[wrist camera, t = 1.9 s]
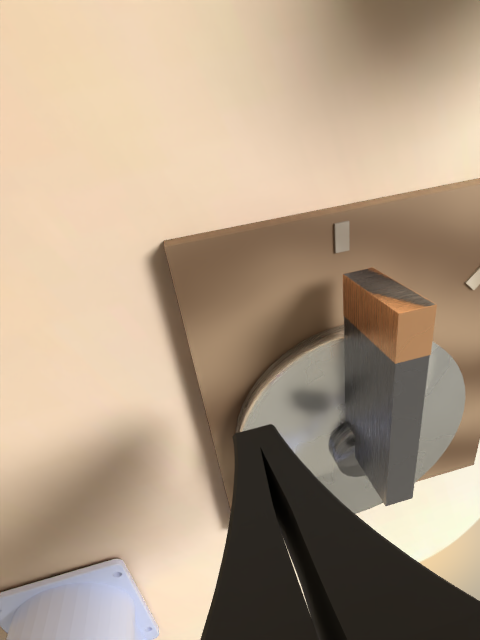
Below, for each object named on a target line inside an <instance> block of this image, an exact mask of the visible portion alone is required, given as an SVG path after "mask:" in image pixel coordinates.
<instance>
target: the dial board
mask: <svg viewBox="0 0 480 640" xmlns="http://www.w3.org/2000/svg"><path fill="white" fill-rule="evenodd" d="M164 249H165V253H166V257H167V261H168V264H169V268H170V272H171V276H172V280H173V284H174V288H175V292H176V296H177V300H178V304H179V308H180V312H181V316H182V320H183V324H184V328H185V332H186V336H187V340H188V344H189V348H190V352H191V356H192V360H193V364H194V368H195V372H196V376H197V380H198V384H199V387H200V391H201V395H202V399H203V403H204V407H205V411H206V415H207V419H208V423H209V427H210V431H211V435H212V439H213V443H214V447H215V451H216V455H217V459H218V463H219V467H220V471H221V475H222V479H223V483H224V487H225V491H226V495H227V499H228V503H229V507H230V511H231V506H232V498H233V486H234V471H235V455H234V443H233V438H232V437H233V435H234V434H235V428H236V424H237V419H238V415H239V413H240V410H241V407H242V405H243V403H244V401H245V399H246V397H247V395H248V393H249V391H250V390H251V388H252V387H253V386H254V384H255V383H256V382H257V380H258V379H259V377H260V376H261V375H262V374H263V373H264V372H265V371H266V370H267V369H268V368H269V367H270V365H272V364H273V363H274V362H275V361H276V360H277V359H278V358H280V357H281V356H282V355H283V354H284V353H286V352H287V351H289V350H290V349H292V348H293V347H294V346H296V345H297V344H299V343H301V342H303V341H305V340H306V339H308V338H310V337H312V336H314V335H316V334H319V333H321V332H323V331H326V330H328V329H331V328H335V327H338V326H341V325H344V315H343V274H345V273H349V272H354V271H358V270H363V269H368V268H372V267H373V268H375V269H376V270H378V271H380V272H382V273H383V274H385V275H387V276H388V277H390V278H392V279H394V280H395V281H397V282H399V283H401V284H402V285H404V286H406V287H407V288H409V289H411V290H413V291H414V292H416V293H418V294H419V295H421V296H423V297H425V298H426V299H428V300H430V301H431V302H433V303H435V304H437V309H436V317H435V325H434V333H433V342H435V343H436V344H437V345H439V346H440V347H442V348H443V349H444V350H445V351H446V352H447V353H448V354H449V355H450V356H452V358H453V359H454V361H455V362H456V363H457V365H458V367H459V369H460V371H461V373H462V376H463V380H464V384H465V406H464V411H463V415H462V419H461V422H460V425H459V427H458V429H457V432H456V434H455V436H454V437H453V439H452V441H451V443H450V444H449V446H448V447H447V449H446V450H445V452H444V453H443V454H442V456H441V457H440V458H439V459H438V461H437V462H436V463H435V464H434V465H433V466H432V467H431V468H430V469H429V470H428V471H427V472H426V473H425V474H424V475H423V476H422V477H421V478H419V479H418V480H417V481H421V480H424V479H427V478H431V477H434V476H437V475H441V474H444V473H447V472H451V471H454V470H457V469H461V468H464V467H467V466H471V465H474V461H475V457H476V453H477V448H478V444H479V440H480V178H478V179H473V180H468V181H463V182H458V183H453V184H448V185H443V186H438V187H433V188H428V189H423V190H418V191H413V192H408V193H402V194H397V195H392V196H387V197H382V198H377V199H372V200H367V201H362V202H357V203H352V204H347V205H342V206H337V207H332V208H327V209H322V210H317V211H312V212H307V213H302V214H297V215H291V216H286V217H281V218H276V219H271V220H266V221H261V222H256V223H251V224H246V225H241V226H236V227H231V228H226V229H221V230H216V231H211V232H206V233H201V234H196V235H191V236H186V237H180V238H175V239H170V240H165V241H164ZM417 481H416V482H417Z"/></svg>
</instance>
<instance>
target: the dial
mask: <svg viewBox="0 0 480 640" xmlns="http://www.w3.org/2000/svg"><path fill="white" fill-rule="evenodd" d="M436 309H437V304H435V303H433V302H431V301H430V300H428V299H426V298H425V297H423V296H421V295H419V294H418V293H416V292H414V291H413V290H411V289H409V288H407V287H406V286H404V285H402V284H401V283H399V282H397V281H395V280H394V279H392V278H390V277H388V276H387V275H385V274H383V273H382V272H380V271H378V270H376V269H375V268H373V267H372V268H368V269H363V270H358V271H354V272H349V273H345V274H343V315H344V325H341V326H338V327H335V328H331V329H328V330H326V331H323V332H321V333H319V334H316V335H314V336H312V337H310V338H308V339H306V340H305V341H303V342H301V343H299V344H297V345H296V346H294V347H293V348H292V349H290V350H289V351H287V352H286V353H284V354H283V355H282V356H281V357H280V358H278V359H277V360H276V361H275V362H274V363H273V364H272V365H270V367H269V368H268V369H267V370H266V371H265V372H264V373H263V374H262V375H261V376H260V377H259V379H258V380H257V382H256V383H255V384H254V386H253V387H252V388H251V390H250V391H249V393H248V395H247V397H246V399H245V401H244V403H243V405H242V407H241V410H240V413H239V415H238V419H237V424H236V428H235V433H239V432H242V431H246V430H250V429H254V428H258V427H261V426H265V425H269V424H272V425H274V426H275V427H276V429H277V430H278V432H279V433H280V435H281V436H282V438H283V439H284V440H285V442H286V443H287V444H288V446H289V447H290V448H291V449H292V451H293V452H294V453H295V454H296V455H297V457H298V458H299V459H300V460H301V461H302V462H303V463H304V465H305V466H306V467H307V468H308V469H309V470H310V471H311V472H312V473H313V474H314V476H315V477H316V478H317V479H318V480H319V481H320V482H321V483H322V484H323V485H324V486H325V487H326V488H327V489H328V490H329V491H330V492H331V493H332V494H333V495H334V496H335V497H337V498H338V499H339V500H340V501H341V502H342V503H343V504H344V505H345V506H346V507H347V508H349V509H350V510H351V511H352V512H353V513H354V514H356V513H359V512H361V511H364V510H367V509H370V508H372V507H374V506H377V505H379V504H381V503H384V504H385V506H388V505H391V504H395V503H398V502H401V501H404V500H408V499H411V498H412V497H413V489H414V483H415V482H416V481H417V480H418V479H419V478H421V477H422V476H423V475H424V474H425V473H426V472H427V471H428V470H429V469H430V468H431V467H432V466H433V465H434V464H435V463H436V462H437V461H438V459H439V458H440V457H441V456H442V454H443V453H444V452H445V450H446V449H447V447H448V446H449V444H450V443H451V441H452V439H453V437H454V436H455V434H456V432H457V429H458V427H459V425H460V422H461V419H462V415H463V411H464V406H465V384H464V380H463V376H462V373H461V371H460V369H459V367H458V365H457V363H456V362H455V361H454V359H453V358H452V356H450V355H449V354H448V353H447V352H446V351H445V350H444V349H443V348H442V347H440V346H439V345H437V344H436V343H435V342H433V333H434V325H435V317H436Z"/></svg>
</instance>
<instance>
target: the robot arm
mask: <svg viewBox="0 0 480 640" xmlns="http://www.w3.org/2000/svg"><path fill="white" fill-rule="evenodd" d="M232 438H233V443H234V455H235V471H234V486H233V498H232V506H231V513H230V521H229V527H228V533H227V539H226V544H225V549H224V554H223V559H222V563H221V567H220V572H219V576H218V580H217V584H216V588H215V592H214V596H213V599H212V603H211V606H210V610H209V613H208V616H207V620H206V623H205V626H204V630H203V633H202V636H201V640H480V601H478V600H477V599H475V598H474V597H472V596H470V595H469V594H467V593H465V592H464V591H462V590H460V589H459V588H457V587H455V586H454V585H452V584H451V583H449V582H448V581H446V580H444V579H443V578H441V577H440V576H438V575H436V574H435V573H433V572H432V571H430V570H429V569H427V568H426V567H425V566H423V565H422V564H420V563H419V562H417V561H416V560H414V559H413V558H411V557H410V556H409V555H407V554H406V553H404V552H403V551H402V550H400V549H399V548H398V547H396V546H395V545H394V544H392V543H391V542H389V541H388V540H387V539H385V538H384V537H383V536H381V535H380V534H379V533H377V532H376V531H375V530H374V529H372V528H371V527H370V526H369V525H368V524H366V523H365V522H364V521H363V520H361V519H360V518H359V517H358V516H357V515H356V514H354V513H353V512H352V511H351V510H350V509H349V508H347V507H346V506H345V505H344V504H343V503H342V502H341V501H340V500H339V499H338V498H337V497H335V496H334V495H333V494H332V493H331V492H330V491H329V490H328V489H327V488H326V487H325V486H324V485H323V484H322V483H321V482H320V481H319V480H318V479H317V478H316V477H315V476H314V474H313V473H312V472H311V471H310V470H309V469H308V468H307V467H306V466H305V465H304V463H303V462H302V461H301V460H300V459H299V458H298V457H297V455H296V454H295V453H294V452H293V451H292V449H291V448H290V447H289V446H288V444H287V443H286V442H285V440H284V439H283V438H282V436H281V435H280V433H279V432H278V430H277V429H276V427H275V426H274V425H272V424H269V425H265V426H261V427H258V428H254V429H250V430H246V431H242V432H239V433H235V434H234V435H233V437H232ZM283 538H284V539H283ZM284 541H285V542H284ZM285 544H286V545H285ZM286 546H287V548H286ZM287 549H288V551H289V554H290V556H291V559H292V562H293V564H294V567H295V569H296V572H297V575H298V577H299V580H300V583H301V586H302V589H303V592H304V596H305V599H306V602H307V605H308V608H307V605H306V602H305V599H304V596H303V594H302V591H301V588H300V585H299V583H298V580H297V577H296V574H295V571H294V568H293V565H292V562H291V560H290V557H289V554H288V551H287ZM308 609H309V610H308ZM309 612H310V613H309ZM310 615H311V616H310ZM0 626H1V628H2V629H3V630H4V631H5V632H6V633H7V638H6V640H152V639H155V638H157V637H158V635H159V627H158V625H157V623H156V622H155V620H154V618H153V616H152V614H151V612H150V610H149V608H148V606H147V605H146V603H145V601H144V599H143V597H142V595H141V593H140V591H139V589H138V588H137V586H136V584H135V582H134V580H133V578H132V576H131V574H130V572H129V571H128V569H127V567H126V565H125V563H124V561H123V560H121V559H112V560H109V561H105V562H102V563H99V564H95V565H92V566H88V567H85V568H82V569H78V570H75V571H71V572H68V573H65V574H61V575H58V576H54V577H51V578H48V579H44V580H41V581H38V582H34V583H31V584H27V585H24V586H21V587H17V588H14V589H10V590H7V591H4V592H0Z"/></svg>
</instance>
